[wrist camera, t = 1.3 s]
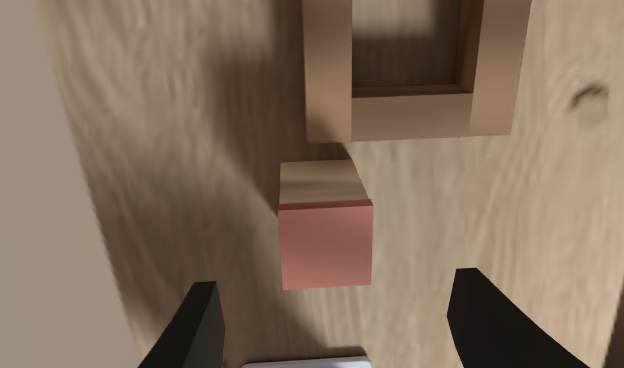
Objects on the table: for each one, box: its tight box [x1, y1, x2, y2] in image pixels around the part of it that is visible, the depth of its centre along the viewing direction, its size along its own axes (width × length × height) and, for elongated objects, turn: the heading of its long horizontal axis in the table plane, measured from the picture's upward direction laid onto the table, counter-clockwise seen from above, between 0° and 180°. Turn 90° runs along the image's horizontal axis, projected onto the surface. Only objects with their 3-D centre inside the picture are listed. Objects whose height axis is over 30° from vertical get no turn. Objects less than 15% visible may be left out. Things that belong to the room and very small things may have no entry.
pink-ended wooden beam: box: [278, 159, 373, 290], centre depth 20 cm, size 4×4×6 cm
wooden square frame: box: [301, 0, 532, 144], centre depth 18 cm, size 9×9×2 cm
